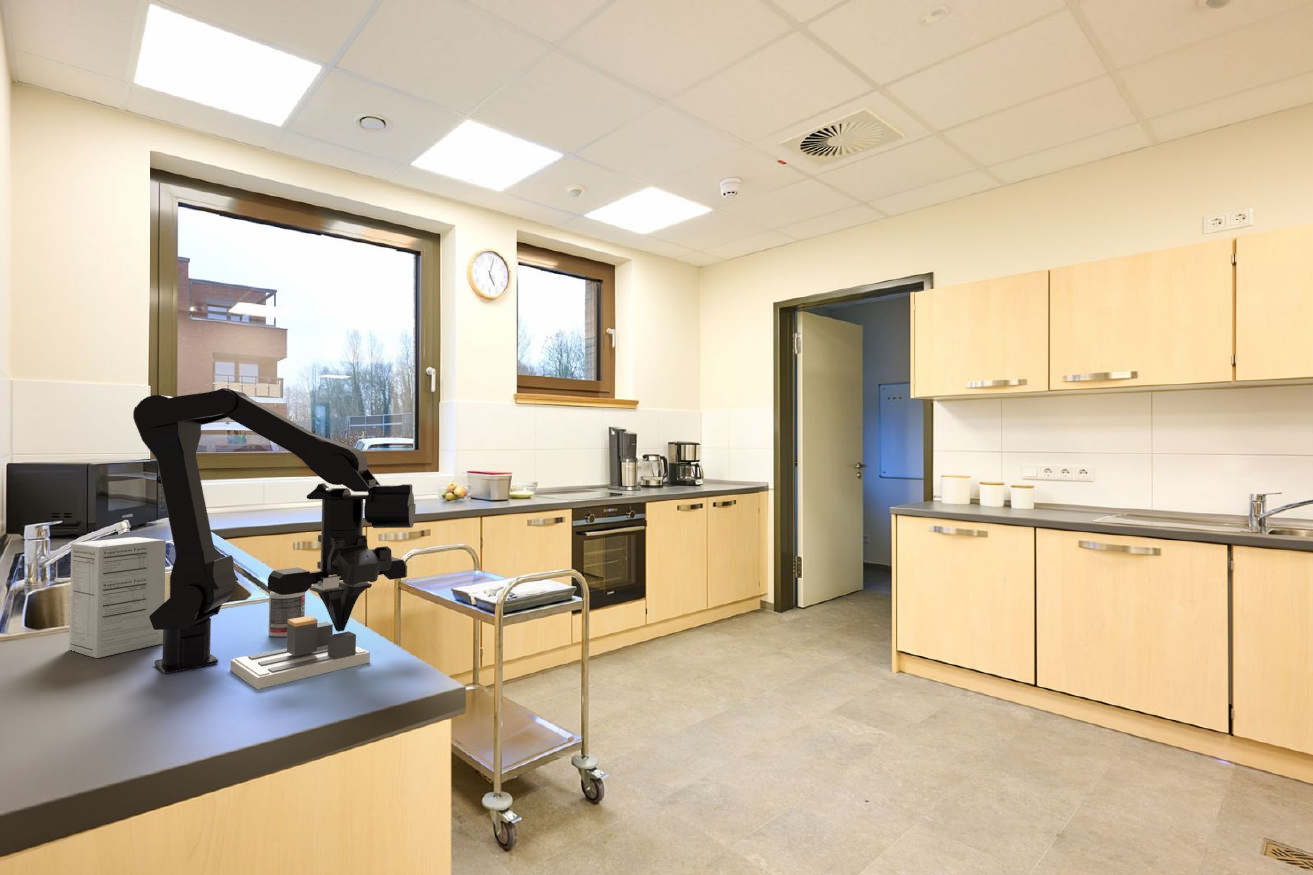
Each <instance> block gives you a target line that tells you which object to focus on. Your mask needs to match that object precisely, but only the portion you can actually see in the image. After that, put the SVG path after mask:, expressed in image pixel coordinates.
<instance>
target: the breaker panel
mask: <svg viewBox="0 0 1313 875" xmlns="http://www.w3.org/2000/svg"><path fill="white" fill-rule="evenodd" d="M333 628H334V625H333V623H330V622H329V621H323V622H317V652H313V653H308V654H303V655H299V656H293V655H292V654H290V653H288V652H287V647H286V648H281V649H277V650H272V651H266V652H261V653H258V654H257V653H256V654H251V655H248V656H246V655H245V656H240V657H236V658H232V659H230V670H229V671H231V672H232V673H234V674H235V675H236V676H238V677H239V678H241V679H242V680H244V681H245V682H246V683H247V684H249V685H251V686H252V687H253V688H254V689H257V690H259V689H264V688H269V687H271V686H277V685H281V684H285V683H290V682H292V681H293V682H294V681H298V680H302V679H305V678H311V677H315V676H318V675H323V674H327V673H331V672H335V671H340V670H343V669H348V668H352V667H356V666H361V665H364V664H368V663H370V662H371V657H370V656H371V652H370V651H368V650H366V649H364V648H361V647H359V646H357V640H356V639H357V634H356V633H353V632H351V631H349V630H348V631H342V632H338V633H333V630H334V629H333Z"/></svg>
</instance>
